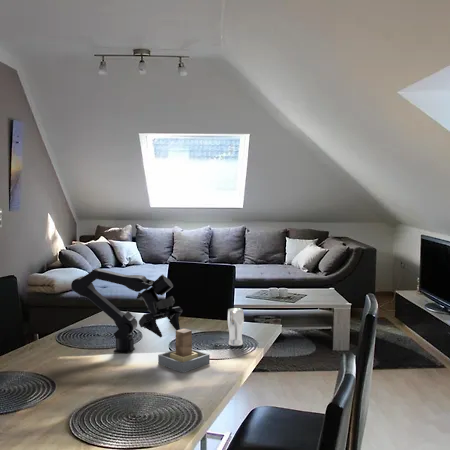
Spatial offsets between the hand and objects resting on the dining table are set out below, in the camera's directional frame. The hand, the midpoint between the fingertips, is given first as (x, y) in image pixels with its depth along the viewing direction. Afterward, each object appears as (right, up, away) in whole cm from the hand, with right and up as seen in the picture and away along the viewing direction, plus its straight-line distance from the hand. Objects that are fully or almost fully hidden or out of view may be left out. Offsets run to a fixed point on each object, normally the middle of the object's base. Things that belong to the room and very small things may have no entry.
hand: (170, 334), depth 215 cm
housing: (+6, -10, -4) cm, 13 cm away
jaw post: (+6, -9, -5) cm, 12 cm away
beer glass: (+26, -8, +20) cm, 34 cm away
